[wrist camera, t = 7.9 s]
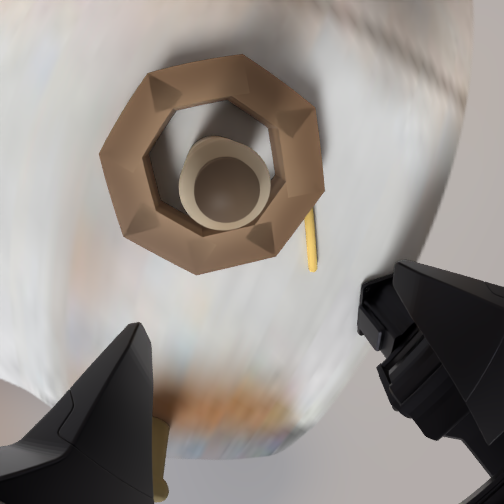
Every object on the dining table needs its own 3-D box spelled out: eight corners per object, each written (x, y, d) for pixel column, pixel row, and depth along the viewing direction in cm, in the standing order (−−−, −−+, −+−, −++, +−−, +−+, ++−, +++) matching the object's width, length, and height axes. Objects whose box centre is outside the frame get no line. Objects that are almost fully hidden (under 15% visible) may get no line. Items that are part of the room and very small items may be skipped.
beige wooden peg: (235, 130, 17) (268, 134, 9) (244, 182, 19) (281, 226, 11) (181, 142, 17) (167, 155, 9) (192, 193, 18) (190, 247, 11)
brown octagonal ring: (292, 58, 15) (305, 50, 13) (314, 230, 21) (328, 243, 19) (100, 97, 14) (86, 94, 12) (147, 269, 20) (142, 287, 18)
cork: (175, 435, 31) (179, 506, 21) (134, 436, 30) (132, 504, 20) (161, 413, 28) (162, 495, 18) (116, 414, 27) (110, 491, 18)
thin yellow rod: (307, 175, 19) (311, 177, 19) (315, 268, 23) (318, 272, 22) (298, 177, 19) (302, 179, 19) (307, 270, 23) (310, 274, 22)
